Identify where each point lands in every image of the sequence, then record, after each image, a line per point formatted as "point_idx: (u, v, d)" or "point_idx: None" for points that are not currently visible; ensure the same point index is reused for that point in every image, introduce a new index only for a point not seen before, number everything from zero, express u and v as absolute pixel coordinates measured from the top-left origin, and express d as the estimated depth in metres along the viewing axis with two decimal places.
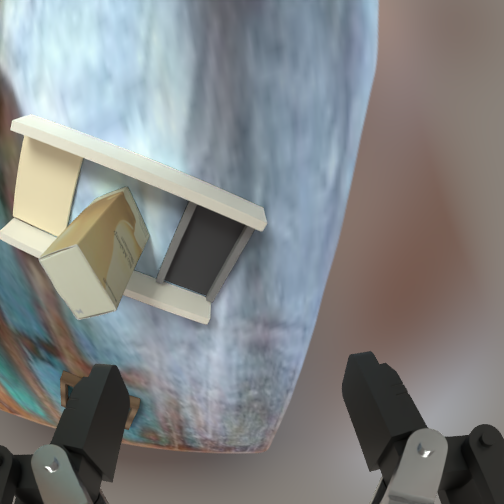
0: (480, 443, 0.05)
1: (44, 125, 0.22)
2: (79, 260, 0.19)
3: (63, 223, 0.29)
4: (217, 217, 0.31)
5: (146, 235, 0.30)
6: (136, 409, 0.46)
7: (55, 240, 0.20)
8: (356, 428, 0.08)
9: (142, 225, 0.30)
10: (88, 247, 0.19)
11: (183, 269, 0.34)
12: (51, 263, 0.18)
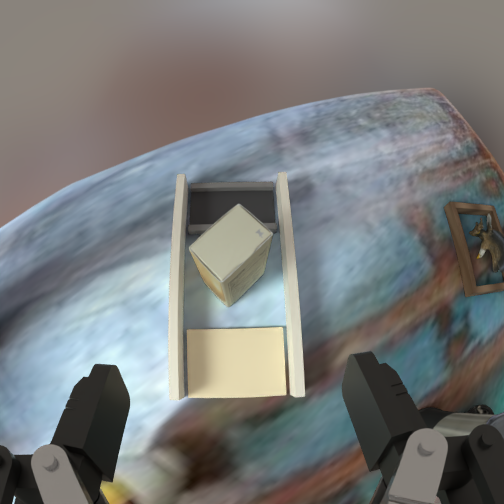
0: (480, 443, 0.05)
1: None
2: (202, 242, 0.25)
3: (265, 331, 0.34)
4: (200, 210, 0.40)
5: None
6: (454, 203, 0.40)
7: (220, 287, 0.27)
8: (356, 427, 0.08)
9: None
10: None
11: (257, 215, 0.40)
12: (217, 267, 0.25)
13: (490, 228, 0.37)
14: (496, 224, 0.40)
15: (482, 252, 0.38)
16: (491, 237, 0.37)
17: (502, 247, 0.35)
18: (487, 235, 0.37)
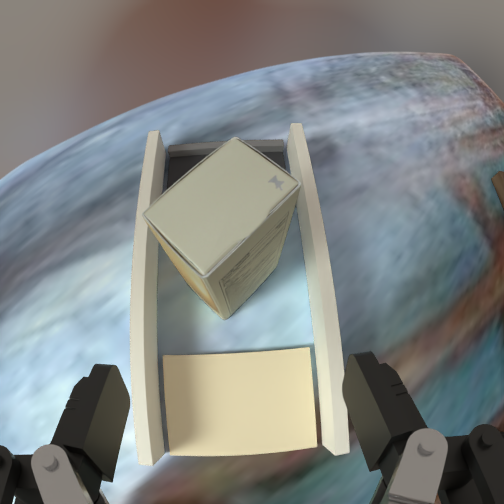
0: (480, 443, 0.05)
1: None
2: (167, 203, 0.13)
3: (283, 355, 0.22)
4: None
5: None
6: (503, 173, 0.28)
7: (205, 290, 0.14)
8: (356, 428, 0.08)
9: None
10: None
11: None
12: (195, 248, 0.12)
13: None
14: None
15: None
16: None
17: None
18: None
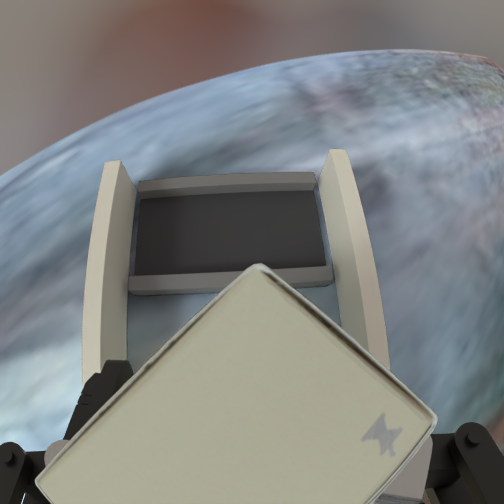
0: (466, 442, 0.05)
1: None
2: (81, 480, 0.03)
3: None
4: (158, 239, 0.18)
5: None
6: None
7: None
8: None
9: None
10: None
11: (284, 246, 0.18)
12: None
13: None
14: None
15: None
16: None
17: None
18: None
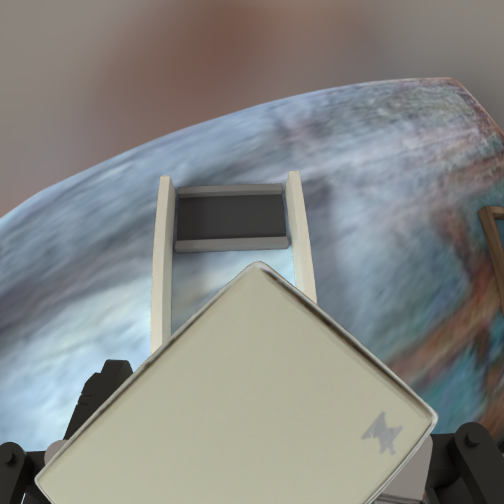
0: (466, 442, 0.05)
1: None
2: (80, 478, 0.03)
3: None
4: (190, 221, 0.31)
5: None
6: (490, 207, 0.32)
7: None
8: None
9: None
10: None
11: (262, 226, 0.31)
12: None
13: None
14: None
15: None
16: None
17: None
18: None
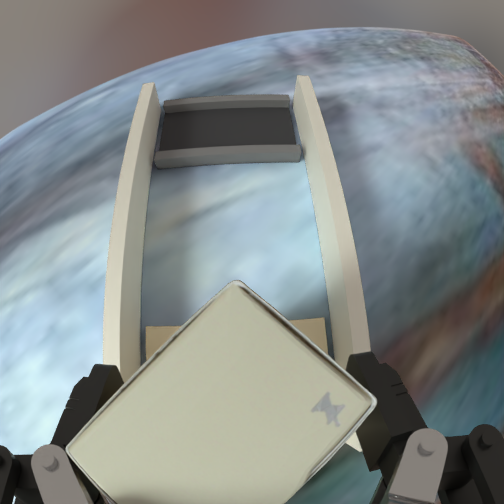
0: (480, 443, 0.05)
1: None
2: (104, 442, 0.05)
3: None
4: (176, 134, 0.23)
5: None
6: None
7: None
8: None
9: None
10: None
11: (267, 137, 0.24)
12: None
13: None
14: None
15: None
16: None
17: None
18: None
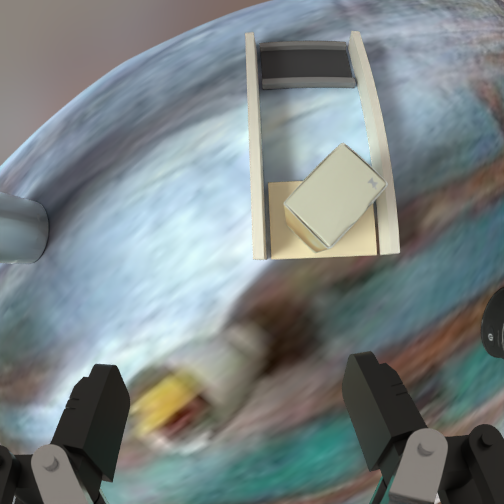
0: (480, 443, 0.05)
1: None
2: (301, 196, 0.19)
3: None
4: (272, 67, 0.32)
5: None
6: None
7: (321, 248, 0.21)
8: (356, 428, 0.08)
9: None
10: None
11: (333, 71, 0.31)
12: (324, 229, 0.19)
13: None
14: None
15: None
16: None
17: None
18: None
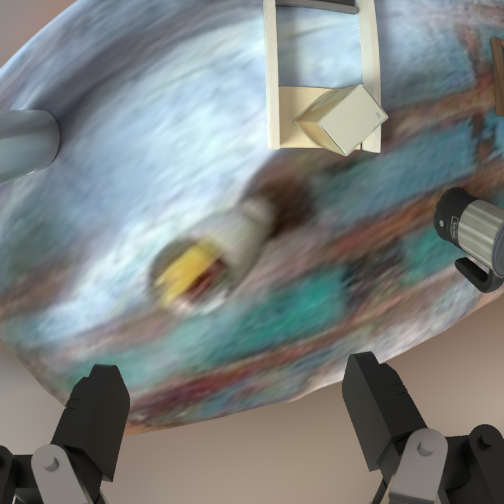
0: (480, 443, 0.05)
1: (268, 121, 0.34)
2: (330, 118, 0.25)
3: None
4: None
5: None
6: (500, 40, 0.28)
7: (334, 151, 0.28)
8: (356, 428, 0.08)
9: (317, 99, 0.34)
10: (320, 116, 0.25)
11: None
12: (343, 142, 0.26)
13: None
14: None
15: None
16: None
17: None
18: None
